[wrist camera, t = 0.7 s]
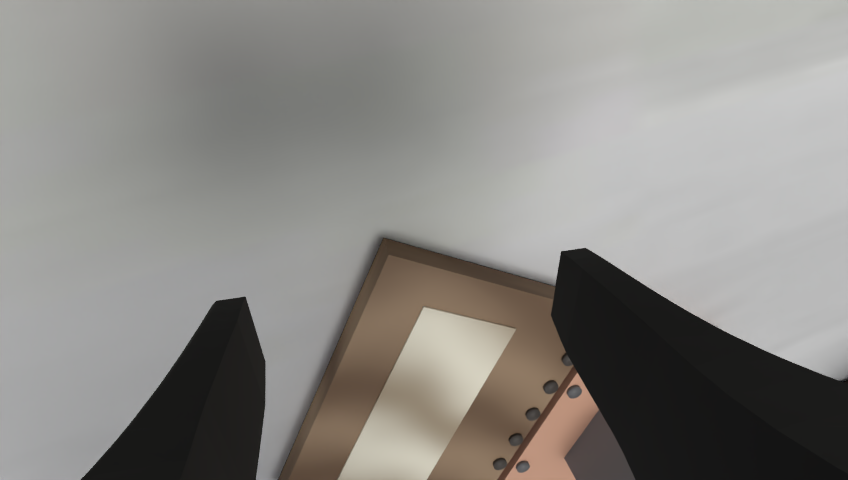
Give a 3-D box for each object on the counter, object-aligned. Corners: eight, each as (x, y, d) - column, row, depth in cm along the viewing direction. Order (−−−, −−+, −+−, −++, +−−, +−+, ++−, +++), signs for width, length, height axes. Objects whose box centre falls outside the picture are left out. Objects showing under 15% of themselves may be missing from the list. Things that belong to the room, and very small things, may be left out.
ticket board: (464, 496, 33) (471, 521, 31) (277, 480, 28) (276, 508, 27) (593, 297, 27) (610, 316, 25) (383, 237, 22) (389, 256, 21)
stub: (579, 506, 36) (630, 606, 30) (470, 497, 33) (506, 606, 27) (715, 332, 30) (809, 415, 25) (600, 299, 27) (679, 387, 21)
